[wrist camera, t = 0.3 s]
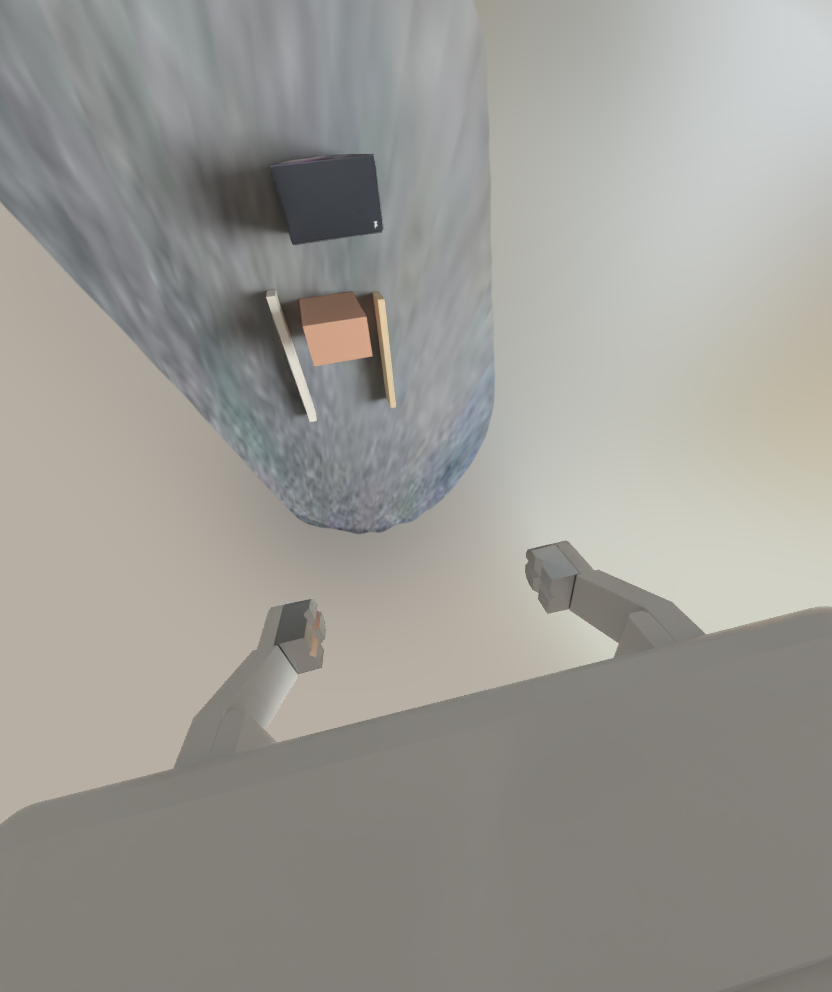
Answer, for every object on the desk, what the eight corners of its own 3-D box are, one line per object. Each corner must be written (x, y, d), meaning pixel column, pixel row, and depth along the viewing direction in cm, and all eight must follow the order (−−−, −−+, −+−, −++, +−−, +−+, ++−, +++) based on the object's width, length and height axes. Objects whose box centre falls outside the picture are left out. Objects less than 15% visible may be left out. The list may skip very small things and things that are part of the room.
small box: (359, 152, 37) (376, 149, 30) (369, 223, 42) (386, 234, 35) (270, 162, 36) (267, 161, 29) (291, 235, 41) (293, 249, 34)
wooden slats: (264, 291, 44) (263, 298, 41) (376, 276, 47) (382, 282, 44) (307, 413, 59) (308, 424, 56) (391, 396, 61) (395, 407, 59)
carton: (299, 298, 46) (302, 326, 38) (352, 291, 47) (366, 316, 39) (309, 335, 50) (314, 367, 42) (358, 328, 51) (372, 357, 43)
